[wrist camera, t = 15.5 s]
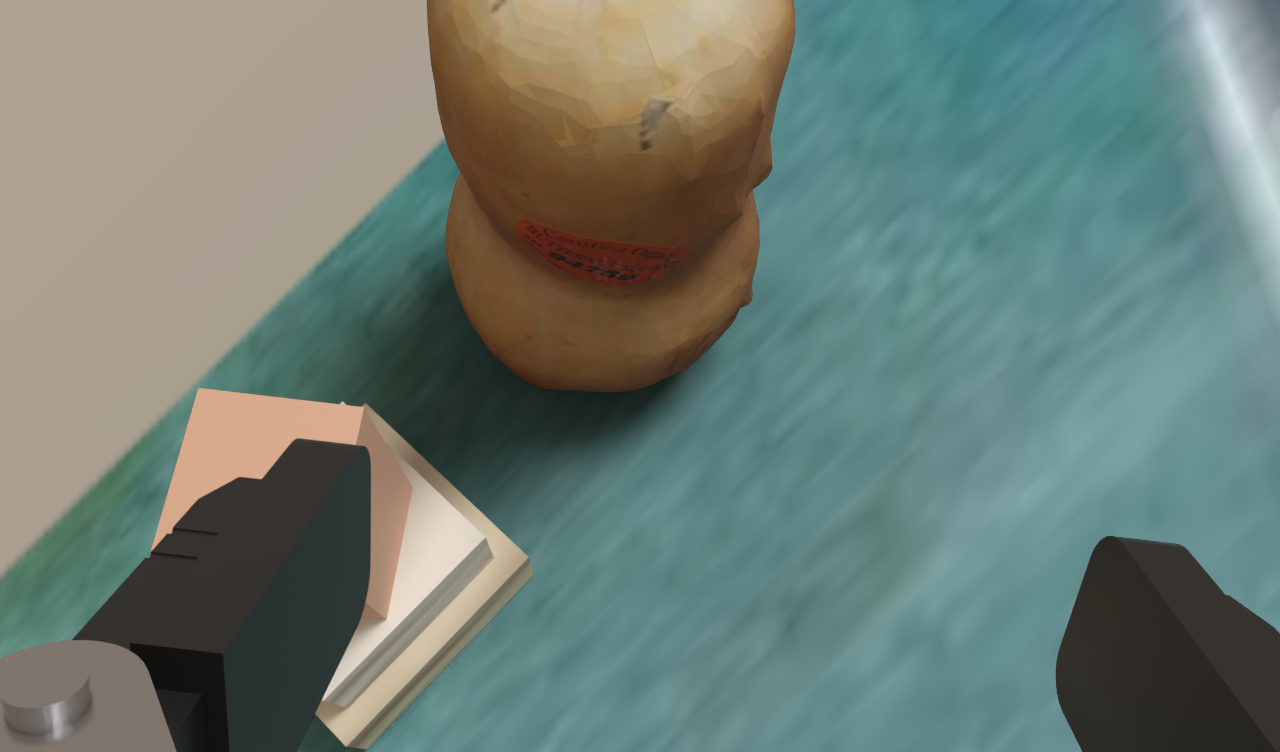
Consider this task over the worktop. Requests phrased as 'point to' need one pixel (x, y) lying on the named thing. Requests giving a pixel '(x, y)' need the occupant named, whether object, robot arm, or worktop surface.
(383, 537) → the salmon pink rectangular block
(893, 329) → the worktop surface
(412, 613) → the beige stepped block
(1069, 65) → the worktop surface
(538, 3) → the butternut squash
